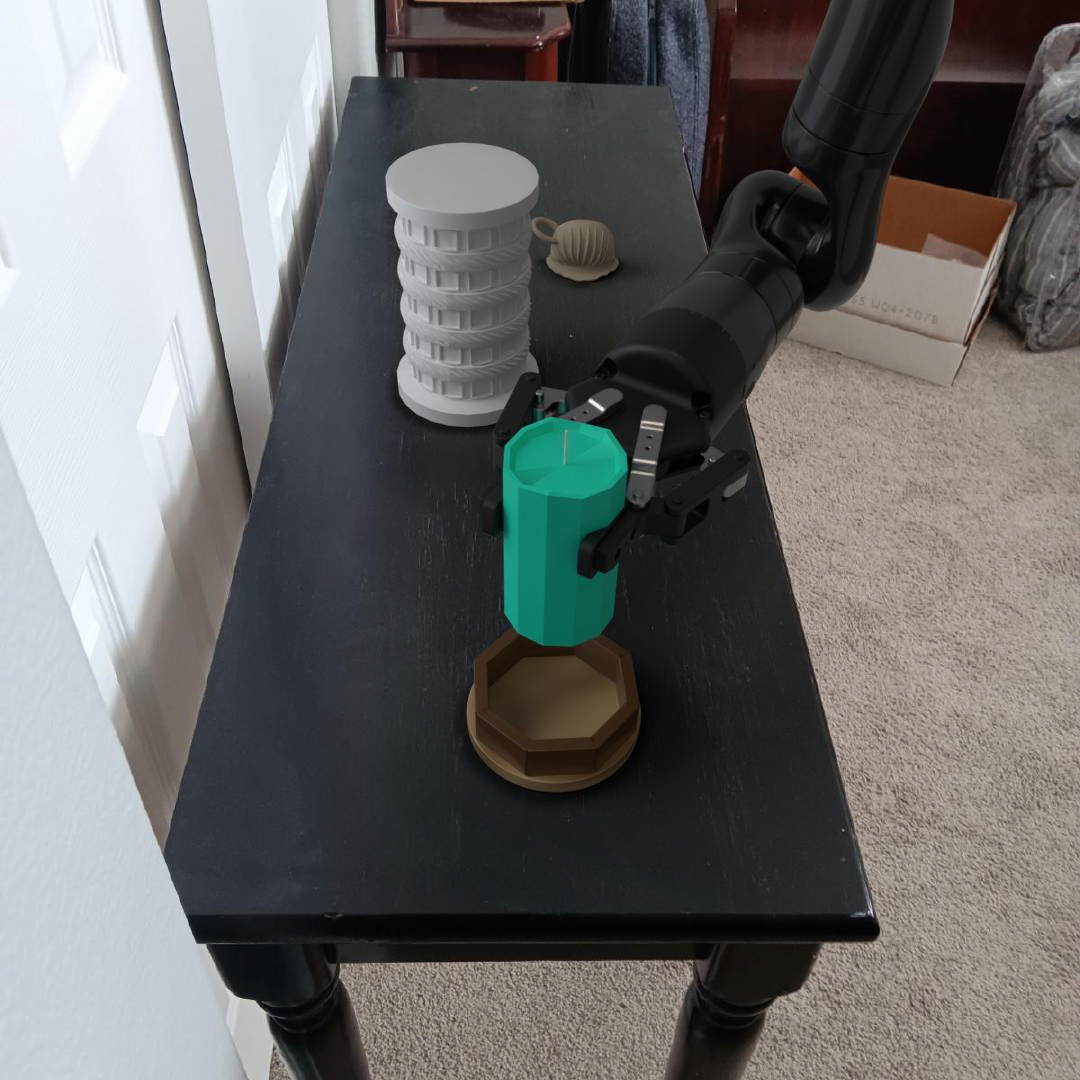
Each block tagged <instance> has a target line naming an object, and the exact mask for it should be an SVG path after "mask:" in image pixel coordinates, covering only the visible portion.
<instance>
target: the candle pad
mask: <svg viewBox="0 0 1080 1080" xmlns="http://www.w3.org/2000/svg"><path fill="white" fill-rule="evenodd" d="M472 663H473V664H472V665H473V683H472V686H471V688H470V690H469V691H470V692H469V694H468V698H467V701H466V702H467V703H466V725H467V732H468V736H469V739H470V741H471V744H472V746H473V748H474V750H475V752H476V753H477V755H478V757H479V758H480V759H481V760H482V761H483V763H484V764H485V765H486V766H487V767H488V768H489V769H490V770H491V771H493V772H494V774H496V775H498V776H500V777H501V778H502V779H504V780H506V781H507V782H510V783H511V784H514V785H516V786H519V787H522V788H525V789H528V790H533V791H536V792H545V793H566V792H574V791H578V790H584V789H586V788H588V787H591V786H595V785H597V784H598V783H600V782H602V781H604V780H606V779H608V778H609V777H610V776H612V775H614V774H615V773H616V772H617V771H618V770H619V769H620V768H621V767H622V766H624V764H625V763H626V762H627V761H628V759H629V757H630V756H631V755H632V753H633V751H634V749H635V747H636V745H637V743H638V742H637V741H638V739H639V735H640V734H639V733H640V730H641V729H640V728H641V718H642V710H641V709H642V708H641V704H640V703H641V702H640V698H639V692H638V686H637V681H636V676H635V669H634V664H633V657H632V654H631V653H630V651H628V650H627V649H626V648H624V647H622V646H620V644H617V643H616V642H614V641H613V640H611V639H610V638H608V637H607V636H605V635H604V634H602V633H601V634H600V635H599V636H597V637H595V638H592V639H590V640H588V641H585V642H583V643H580V644H578V645H576V646H573V647H571V646H543V645H541V644H539V643H537V642H535V641H533V640H531V639H529V638H527V637H525V636H523V635H521V634H518V633H517V631H516V630H515V628H514V627H513V626H511V627H510V628H509V629H508V630H506V631H505V632H504V633H503V634H501V636H500V637H498V638H497V639H496V640H495V641H494V642H492V643H491V644H489V646H488V647H486V648H485V649H484V650H483V651H482V652H481V653H479V654H478V655H477V656H476V657H475V658H473V662H472Z"/></svg>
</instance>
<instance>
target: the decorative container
mask: <svg viewBox="0 0 1080 1080" xmlns="http://www.w3.org/2000/svg"><path fill="white" fill-rule="evenodd" d="M384 177H385V187H386V188H385V189H386V197H387V203H388V205H390V207H391V208H392V209H393V211H394V212H395V213H397V215H396V218H395V220H394V221H395V222H394V227H393V230H394V231H393V232H394V236H395V237H394V238H395V240H396V242H397V247H398V248H399V250H400V255H399V257H398V261H397V276H398V279H399V281H400V285H401V287H402V289H403V290H402V294H401V298H400V303H399V304H400V305H399V306H400V307H399V308H400V313H401V316H402V318H403V322H404V324H405V327H404V331H403V337H402V345H403V350H404V351H405V354H404V355H403V356H402V358H401V359H400V360H399V363H398V367H397V369H396V377H397V378H396V379H397V387H398V395H399V397H400V398H401V400H402V401H403V404H404V405H405V406H406V407H407V408H409V409H410V410H411V411H412V412H413V413H415V414H416V415H417V416H418V417H422V418H423V419H426V420H428V421H430V422H433V423H437V424H440V425H445V426H448V427H460V428H461V427H463V428H474V427H484V426H490V425H495V424H496V423H497V421H498V419H499V417H500V415H501V413H502V411H503V409H504V407H505V405H506V403H507V401H508V399H509V397H510V396H511V394H512V392H513V390H514V388H515V386H516V384H517V382H518V380H519V378H520V376H521V375H522V374H523V373H526V372H535V373H538V374H539V375H540V370H539V366H538V363H537V360H536V358H535V357H534V355H533V354H532V353H531V352H530V346H531V342H530V341H531V339H532V337H531V336H530V335H531V332H530V329H529V325H528V322H529V320H530V316H531V311H532V308H531V305H532V304H533V302H532V301H531V299H532V297H531V295H530V292H529V285H530V282H531V278H532V277H531V275H532V274H533V271H532V269H533V265H532V258H531V256H530V255H531V254H530V253H529V248H530V247H531V242H532V241H531V240H532V236H533V235H534V232H533V231H532V229H533V227H532V220H533V219H532V217H531V214H530V213H531V210H533V208H534V207H535V206H536V204H537V203H538V199H539V194H540V175H539V172H538V169H537V167H536V166H535V165H534V164H533V163H532V162H531V161H530V160H529V159H528V158H526V157H524V156H523V155H521V154H519V153H517V152H516V151H514V150H510V149H507V148H503V147H501V146H496V145H491V144H486V143H475V142H451V143H449V142H448V143H447V142H446V143H440V144H434V145H429V146H428V145H427V146H425V147H422V148H418V149H415V150H411V151H410V152H408V153H406V154H404V155H402V156H400V157H399V158H397V159H396V160H395V161H394V162H392V164H390V165H389V166H388V169H387V172H386V174H385V175H384Z"/></svg>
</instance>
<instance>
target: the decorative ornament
mask: <svg viewBox="0 0 1080 1080" xmlns="http://www.w3.org/2000/svg"><path fill="white" fill-rule="evenodd" d="M531 220H532V227H533V229H532V233H533V235H535V236H536V237H537V238H539V240H541V241H543V242H545V243H547V244H550V252H549V255H547V257H546V258H545V262H546V265H547V267H548V268H549V269H550V270H551V271H552V272H554V273H555V274H557V275H560V276H562V277H563V278H564V279H570V280H572V281H574V282H577V283H578V282H579V283H580V282H581V283H582V282H595V281H597V280H599V279H600V278H602V277H607V276H609V273H611V272H612V273H613V272H615V271H616V270H617V268H618V267H619V264H620V262H619V259H618V258H617V257H616V253H615V252H616V251H615V241H614V235H613V233H612V231H611V230H610V228H609V227H608V226H607V225H605V224H604V223H602V222H600V221H597V220H592V219H591V220H590V219H574V220H573V219H572V220H568V221H566V222H563V223H561V224H560V225H559V224H558V223H557V222H556V221H554V220H552V219H550V218H547V217H544V216H538V217H537V216H536V217H534V218H533V219H531ZM537 224H543V225H545V226H547V227H549V228H551V229H552V230H553V234H552V236H549V235H547V234H545V233H543V232H542V231H541V230H540V229H539V228H538V227H537Z"/></svg>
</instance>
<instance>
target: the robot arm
mask: <svg viewBox="0 0 1080 1080" xmlns="http://www.w3.org/2000/svg"><path fill="white" fill-rule="evenodd" d="M954 6H955V0H830V3H829V6H828V9H827V12H826V14H825V17H824V20H823V22H822V25H821V28H820V31H819V33H818V35H817V38H816V40H815V43H814V46H813V47H812V51H811V53H810V56H809V59H808V61H807V64H806V65H805V69H804V72H803V74H802V77H801V79H800V81H799V84H798V87H797V90H796V92H795V94H794V96H793V100H792V101H791V103H790V107H789V109H788V112H787V115H786V118H785V121H784V124H783V128H782V132H781V144H782V148H783V151H784V153H785V155H786V157H787V158H788V160H789V162H790V163H791V164H792V165H793V166H794V167H795V168H796V169H797V170H798V171H799V172H800V173H801V174H802V175H803V176H804V177H805V178H806V179H808V181H810V182H811V184H813V185H814V186H815V187H814V186H812V185H810V184H808V183H805V182H804V181H802V180H800V179H798V178H797V177H794V176H792V175H790V174H788V173H786V172H784V171H782V170H781V171H780V170H776V169H764V170H759V171H755V172H753V173H751V174H749V175H747V176H745V177H744V178H743V179H741V180H740V181H739V182H738V183H737V184H736V186H735V187H733V189H732V191H730V193H729V195H728V197H727V199H726V202H725V203H724V205H723V208H722V210H721V213H720V216H719V217H718V222H717V225H716V229H715V232H714V236H713V241H712V244H711V246H710V248H709V250H708V252H707V253H706V255H705V256H704V258H703V259H702V260H701V262H700V263H699V264H698V266H696V267H695V268H694V270H693V271H692V272H690V274H689V275H688V276H686V278H685V279H684V280H683V281H682V282H681V283H680V284H679V285H678V286H676V287H675V288H673V289H671V290H670V291H668V292H667V293H666V294H665V295H664V296H662V297H661V298H660V299H659V300H658V301H657V302H656V303H655V304H654V305H653V306H652V307H651V308H650V309H649V310H648V311H647V312H646V313H645V314H644V315H643V316H642V317H641V318H640V320H638V322H636V324H635V325H634V326H633V327H631V329H630V330H629V331H628V332H627V333H626V334H625V335H624V336H623V337H622V338H621V340H619V341H618V343H617V344H616V345H615V346H614V347H612V349H611V350H610V351H609V352H608V353H607V354H606V355H605V356H604V357H603V358H602V360H601V361H600V363H599V364H598V366H597V367H596V369H595V371H594V372H593V374H592V376H591V377H590V378H588V379H585V380H584V381H581V382H578V383H576V384H573V385H572V386H571V387H569V388H568V390H562V389H557V388H553V387H552V388H551V387H547V386H542V381H543V378H542V375H540V373H539V374H538V373H535V372H526V373H523V374H522V375H521V376H520V378H519V380H518V382H517V384H516V386H515V388H514V390H513V392H512V394H511V396H510V397H509V399H508V401H507V403H506V405H505V407H504V409H503V411H502V413H501V415H500V417H499V419H498V421H497V423H495V424H494V425H495V426H494V427H493V429H492V466H493V467H492V468H493V470H494V471H495V472H496V473H497V475H496V476H495V477H494V478H493V480H491V481H490V482H489V483H488V484H487V485H486V486H485V487H484V488H483V490H481V493H480V497H479V518H480V520H481V524H482V525H481V529H482V532H483V533H485V534H488V535H490V536H492V537H494V538H498V537H499V536H500V535H501V534H502V533H504V523H503V462H504V448H505V445H506V444H507V443H508V442H509V441H510V440H511V439H512V438H513V437H514V436H515V435H516V434H517V433H518V431H519V430H520V429H521V428H523V427H525V426H528V425H530V424H533V423H536V422H538V421H541V420H543V419H546V418H548V417H554V416H555V415H559V416H558V417H557V418H559V419H565V420H570V421H575V422H580V423H584V424H589V425H593V426H597V427H601V428H605V429H609V430H610V431H611V432H612V433H613V435H614V436H615V438H616V439H617V441H618V442H619V444H620V445H621V447H622V448H623V450H624V451H625V452H626V456H627V467H628V473H627V483H626V493H625V503H624V507H623V509H622V510H621V511H620V512H619V514H618V515H617V516H616V517H615V518H614V520H613V521H612V522H611V523H610V524H609V526H607V527H604V528H601V529H599V530H596V531H593V532H590V533H588V534H587V535H586V537H585V538H584V539H583V541H582V542H581V544H580V546H579V550H578V559H577V574H579V575H581V576H584V577H586V578H588V579H592V578H593V577H594V576H595V575H596V574H597V572H598V571H599V572H601V573H604V574H605V573H607V572H609V571H611V570H613V569H614V567H615V566H616V565H617V564H618V565H619V563H618V562H620V561H621V560H622V559H623V557H624V556H625V555H626V554H627V552H628V551H629V549H630V548H631V546H632V545H633V544H634V543H635V542H636V540H639V539H642V538H644V537H645V535H652V536H659V537H660V538H659V539H660V540H661V542H663V543H664V544H666V545H669V546H677V545H680V544H682V543H683V542H684V541H685V540H687V539H688V538H690V537H691V536H693V534H695V533H697V531H700V530H701V528H703V527H704V526H705V525H707V524H708V523H710V522H711V521H713V519H715V518H716V517H718V516H719V515H720V514H721V513H723V512H724V511H726V509H728V508H730V507H731V506H732V505H734V504H735V503H736V502H737V501H739V500H740V499H741V498H742V497H743V496H744V492H745V488H746V484H747V479H748V475H749V467H750V464H751V455H750V454H749V452H747V451H746V450H742V449H740V448H739V449H738V448H736V449H731V450H728V451H727V452H726V453H725V452H723V451H721V450H720V449H718V448H716V447H715V446H713V445H712V442H714V440H715V438H716V437H717V436H718V435H719V434H720V432H721V431H722V430H723V429H724V427H725V425H726V424H727V423H728V421H729V420H730V419H731V418H732V416H733V415H734V413H735V412H736V411H737V410H738V409H739V407H740V406H741V404H743V402H745V401H747V399H748V398H749V397H750V396H751V394H752V392H753V391H754V390H755V387H756V384H757V383H758V382H759V380H760V378H761V376H762V374H763V372H764V370H765V369H766V366H767V364H768V362H769V361H770V359H771V358H772V356H773V355H774V354H775V353H776V351H777V350H778V349H779V347H780V346H781V345H782V344H783V342H784V340H786V339H787V337H788V336H789V334H790V333H791V332H792V330H793V329H794V327H795V326H796V324H797V323H798V321H799V319H800V317H801V315H802V313H803V309H805V310H808V311H811V312H815V313H824V312H825V313H826V312H829V311H833V310H835V309H838V308H840V307H841V306H843V305H845V304H847V303H848V302H849V301H850V300H851V299H853V297H855V295H856V294H857V293H858V292H859V291H860V290H861V288H862V286H863V284H864V283H865V281H866V279H867V277H868V275H869V273H870V270H871V267H872V264H873V261H874V257H875V253H876V249H877V244H878V240H879V239H878V238H879V233H880V224H881V218H882V210H883V205H884V199H885V195H886V190H887V187H888V183H889V179H890V175H891V172H892V169H893V167H894V166H893V165H894V163H895V161H896V159H897V156H898V153H899V151H900V150H901V148H902V146H903V143H904V141H905V139H906V138H907V135H908V134H909V132H910V130H911V128H912V125H913V123H914V122H915V119H916V117H917V116H918V114H919V112H920V109H921V107H922V105H923V104H924V101H925V100H926V97H927V95H928V93H929V91H930V89H931V86H932V85H933V83H934V80H935V79H936V76H937V74H938V71H939V68H940V66H941V64H942V61H943V58H944V56H945V52H946V48H947V45H948V43H949V37H950V32H951V28H952V24H953V23H952V22H953V17H954ZM697 470H699V472H698V473H696V474H695V475H694V476H692V477H691V478H689V479H688V480H686V481H685V482H683V483H682V484H681V485H680V486H678V487H677V488H676V489H674V490H673V491H671V492H670V493H668V494H667V495H666V496H665V497H657V496H655V493H656V488H657V482H658V481H662V480H666V479H669V478H673V477H676V476H679V475H683V474H686V473H690V472H694V471H697Z"/></svg>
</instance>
